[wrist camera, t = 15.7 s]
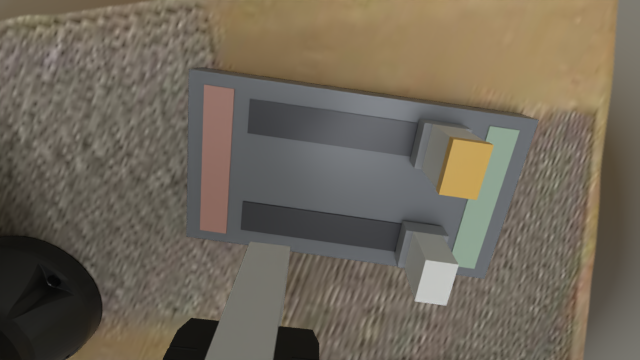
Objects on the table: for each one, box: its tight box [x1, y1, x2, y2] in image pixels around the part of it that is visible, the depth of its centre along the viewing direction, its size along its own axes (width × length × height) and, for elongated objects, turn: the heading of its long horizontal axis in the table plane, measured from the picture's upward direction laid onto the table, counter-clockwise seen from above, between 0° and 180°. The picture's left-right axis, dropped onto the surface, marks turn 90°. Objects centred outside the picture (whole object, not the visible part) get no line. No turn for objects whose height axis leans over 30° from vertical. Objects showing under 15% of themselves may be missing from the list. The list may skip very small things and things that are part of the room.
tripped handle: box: [410, 119, 494, 200], centre depth 26 cm, size 4×4×7 cm
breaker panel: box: [187, 68, 539, 305], centre depth 30 cm, size 28×15×10 cm, turn 82°
